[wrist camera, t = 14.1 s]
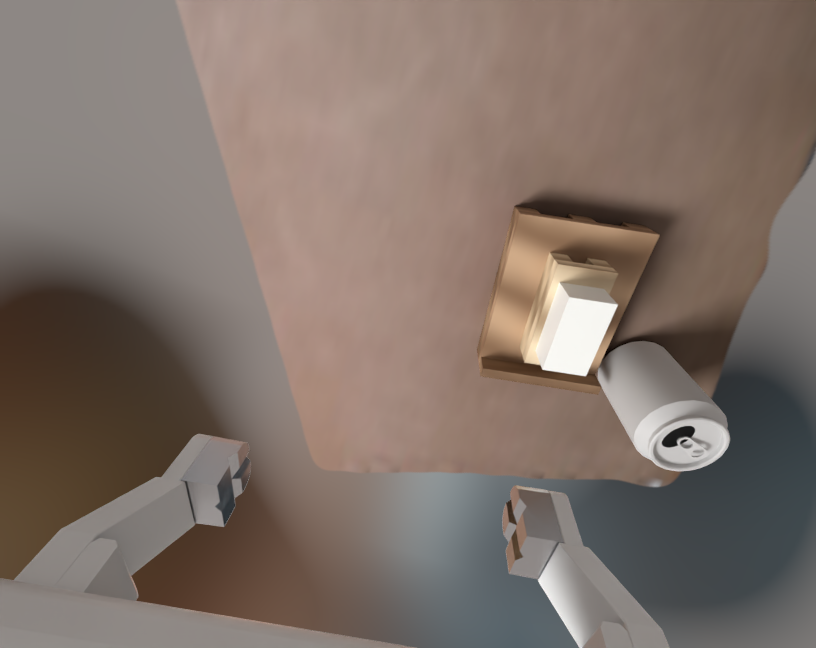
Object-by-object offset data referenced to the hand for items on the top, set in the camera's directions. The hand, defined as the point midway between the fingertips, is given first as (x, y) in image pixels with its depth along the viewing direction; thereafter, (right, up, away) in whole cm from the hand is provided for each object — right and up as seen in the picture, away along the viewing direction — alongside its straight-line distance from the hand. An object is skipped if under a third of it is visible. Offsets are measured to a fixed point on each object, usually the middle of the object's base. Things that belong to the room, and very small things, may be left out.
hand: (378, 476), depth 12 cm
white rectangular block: (+15, +5, +22) cm, 27 cm away
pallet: (+15, +6, +25) cm, 30 cm away
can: (+26, 0, +31) cm, 40 cm away
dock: (+16, +8, +28) cm, 33 cm away
